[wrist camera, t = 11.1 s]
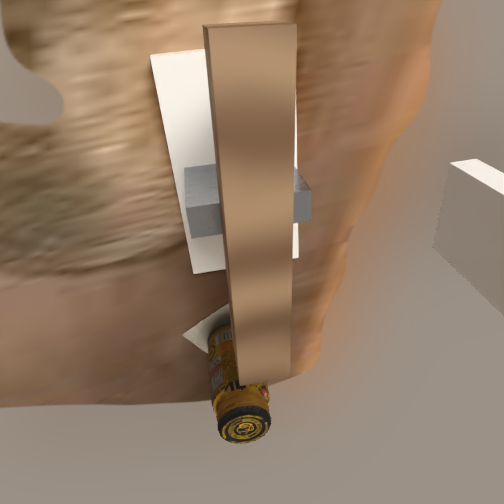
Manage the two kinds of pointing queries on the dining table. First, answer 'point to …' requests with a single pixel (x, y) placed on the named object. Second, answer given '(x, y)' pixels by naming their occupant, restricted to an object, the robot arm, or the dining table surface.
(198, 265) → the white board
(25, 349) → the dining table surface
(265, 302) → the walnut batten
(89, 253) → the dining table surface
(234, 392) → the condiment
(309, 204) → the steel ridge
